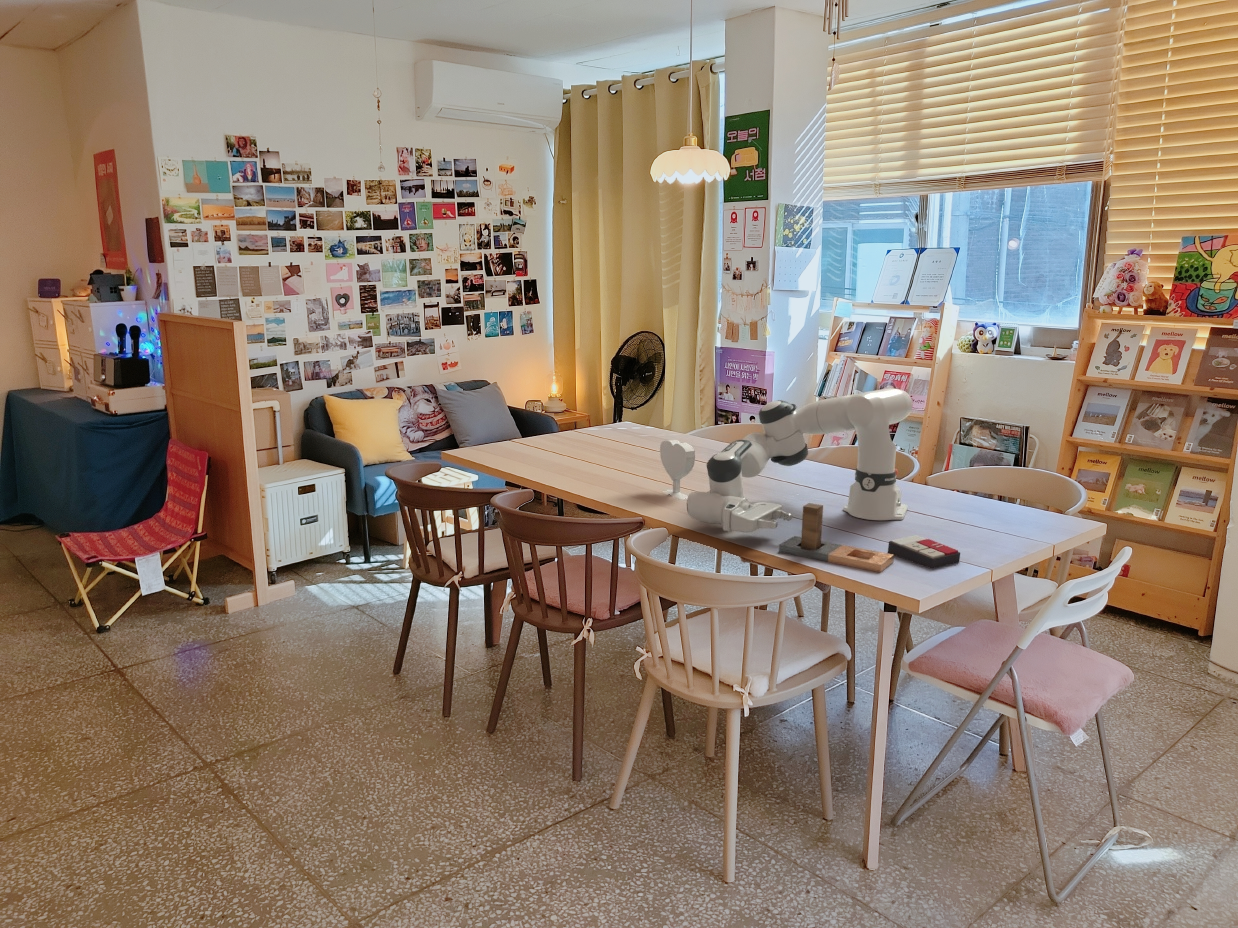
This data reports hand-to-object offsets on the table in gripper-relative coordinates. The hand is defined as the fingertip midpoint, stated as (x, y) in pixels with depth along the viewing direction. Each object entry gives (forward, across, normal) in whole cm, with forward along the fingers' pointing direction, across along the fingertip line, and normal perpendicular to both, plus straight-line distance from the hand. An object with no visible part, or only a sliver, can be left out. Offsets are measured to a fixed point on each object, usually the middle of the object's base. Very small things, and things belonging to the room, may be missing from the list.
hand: (783, 521), depth 247 cm
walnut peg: (+8, 0, -7) cm, 11 cm away
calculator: (+34, -14, -8) cm, 38 cm away
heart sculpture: (-53, -31, -8) cm, 62 cm away
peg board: (+15, 0, -7) cm, 17 cm away
